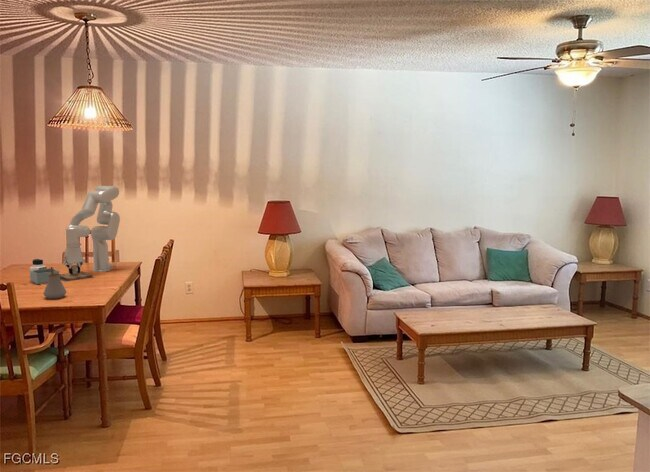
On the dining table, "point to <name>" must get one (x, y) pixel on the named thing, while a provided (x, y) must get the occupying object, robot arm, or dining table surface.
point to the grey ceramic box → (41, 276)
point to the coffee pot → (54, 286)
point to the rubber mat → (75, 279)
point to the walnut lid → (75, 274)
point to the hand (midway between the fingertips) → (74, 273)
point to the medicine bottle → (37, 265)
